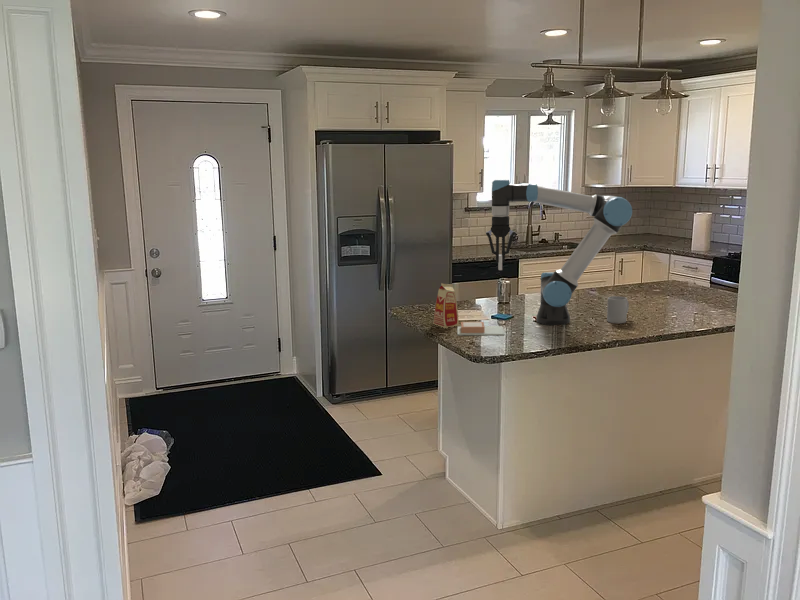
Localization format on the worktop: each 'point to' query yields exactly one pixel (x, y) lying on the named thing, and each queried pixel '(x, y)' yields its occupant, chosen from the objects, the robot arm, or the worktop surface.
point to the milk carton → (446, 307)
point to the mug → (617, 309)
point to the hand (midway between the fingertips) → (500, 269)
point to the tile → (472, 327)
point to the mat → (488, 331)
